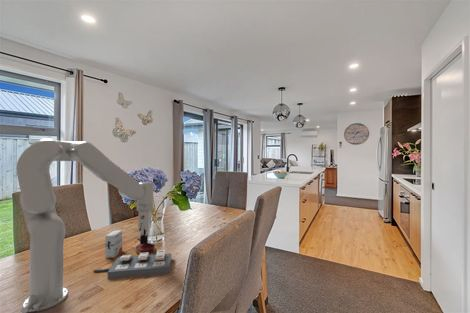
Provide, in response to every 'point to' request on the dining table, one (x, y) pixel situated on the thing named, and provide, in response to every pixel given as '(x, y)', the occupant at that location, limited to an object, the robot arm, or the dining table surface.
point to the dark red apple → (145, 248)
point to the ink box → (113, 244)
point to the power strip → (138, 267)
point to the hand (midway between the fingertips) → (143, 243)
